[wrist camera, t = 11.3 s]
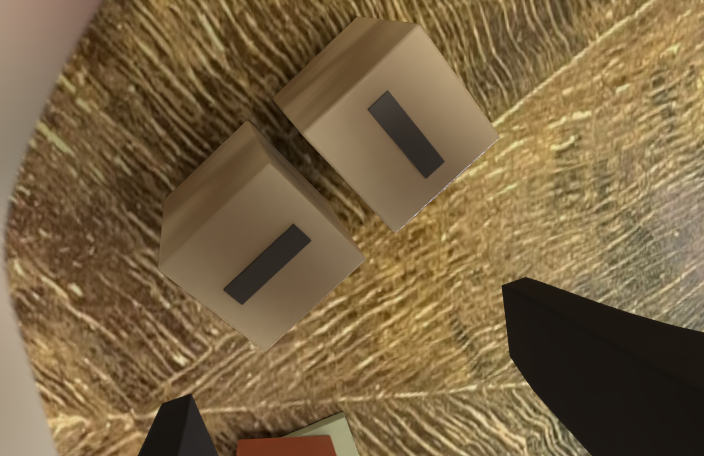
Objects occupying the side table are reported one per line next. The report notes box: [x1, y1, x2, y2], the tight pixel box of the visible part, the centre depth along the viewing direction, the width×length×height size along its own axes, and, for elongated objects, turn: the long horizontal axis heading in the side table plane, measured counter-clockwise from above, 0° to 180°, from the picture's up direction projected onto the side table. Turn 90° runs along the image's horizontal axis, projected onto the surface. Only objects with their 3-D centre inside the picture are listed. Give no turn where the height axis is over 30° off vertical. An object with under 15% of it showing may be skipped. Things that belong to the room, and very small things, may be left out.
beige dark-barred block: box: [158, 121, 366, 351], centre depth 18 cm, size 4×4×6 cm
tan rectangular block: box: [273, 16, 500, 233], centre depth 17 cm, size 4×4×6 cm
